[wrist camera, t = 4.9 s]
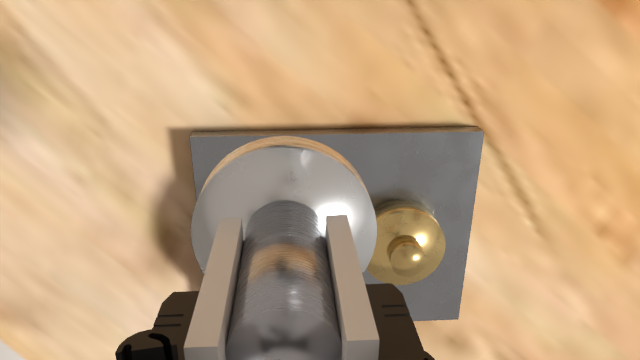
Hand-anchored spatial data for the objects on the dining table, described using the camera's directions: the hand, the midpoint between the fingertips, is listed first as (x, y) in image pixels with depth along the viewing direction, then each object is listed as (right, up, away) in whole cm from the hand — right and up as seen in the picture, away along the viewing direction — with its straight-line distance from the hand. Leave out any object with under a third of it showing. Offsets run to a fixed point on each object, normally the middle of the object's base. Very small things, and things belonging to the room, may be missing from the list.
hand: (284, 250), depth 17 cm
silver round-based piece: (0, +1, +2) cm, 2 cm away
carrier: (+3, -1, +20) cm, 20 cm away
